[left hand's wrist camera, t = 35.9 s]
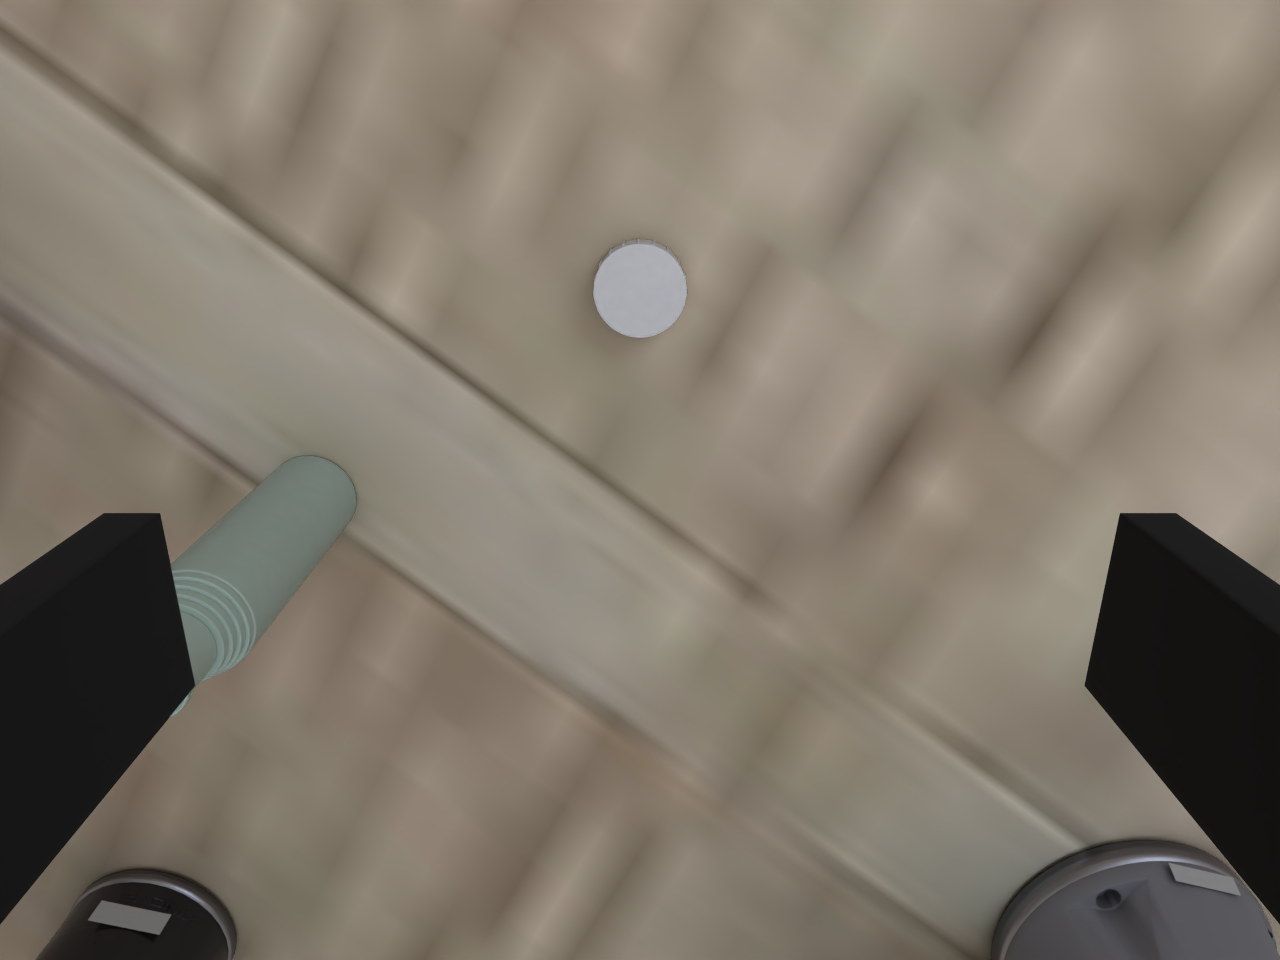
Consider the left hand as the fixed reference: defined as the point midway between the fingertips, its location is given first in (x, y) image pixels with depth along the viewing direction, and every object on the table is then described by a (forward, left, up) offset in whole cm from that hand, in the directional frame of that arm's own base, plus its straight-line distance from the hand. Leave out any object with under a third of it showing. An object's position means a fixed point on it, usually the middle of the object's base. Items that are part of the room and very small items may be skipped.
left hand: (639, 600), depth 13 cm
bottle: (-14, +12, -29) cm, 35 cm away
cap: (0, 0, -28) cm, 28 cm away
